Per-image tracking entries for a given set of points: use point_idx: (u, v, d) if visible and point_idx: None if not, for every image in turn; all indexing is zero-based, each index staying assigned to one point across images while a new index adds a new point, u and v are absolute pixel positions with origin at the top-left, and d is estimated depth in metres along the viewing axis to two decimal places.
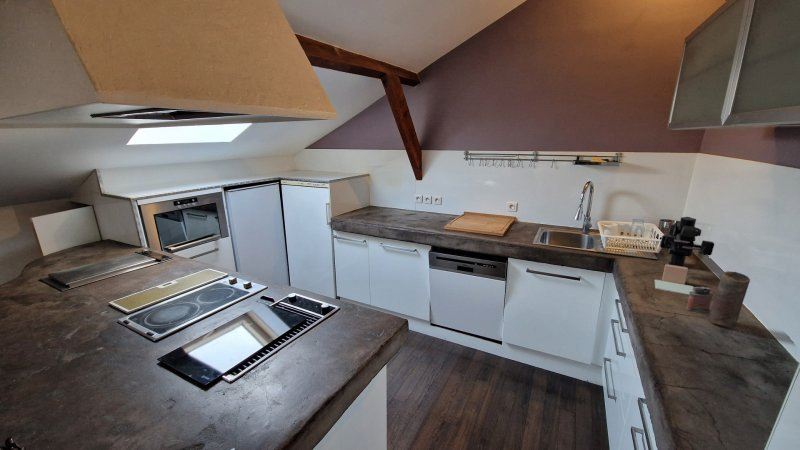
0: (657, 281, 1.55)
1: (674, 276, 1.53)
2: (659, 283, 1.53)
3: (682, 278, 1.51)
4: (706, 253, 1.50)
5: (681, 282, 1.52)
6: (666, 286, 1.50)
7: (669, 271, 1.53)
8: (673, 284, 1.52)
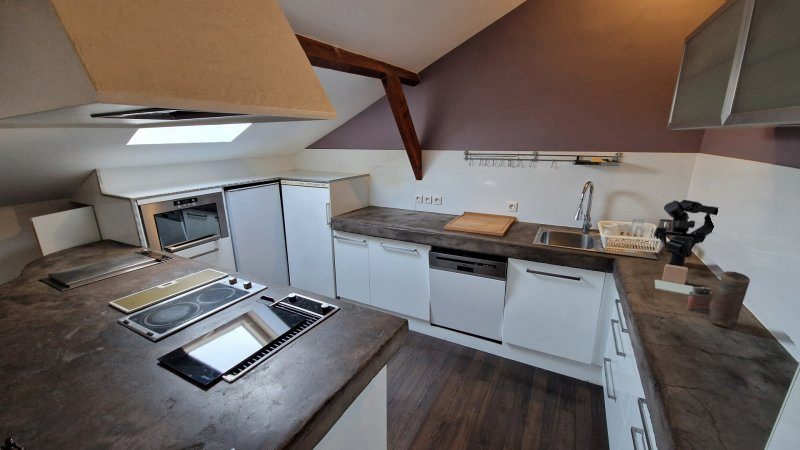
0: (657, 281, 1.55)
1: (674, 276, 1.53)
2: (659, 283, 1.53)
3: (682, 278, 1.51)
4: (697, 242, 1.57)
5: (681, 282, 1.52)
6: (666, 286, 1.50)
7: (669, 271, 1.53)
8: (673, 284, 1.52)
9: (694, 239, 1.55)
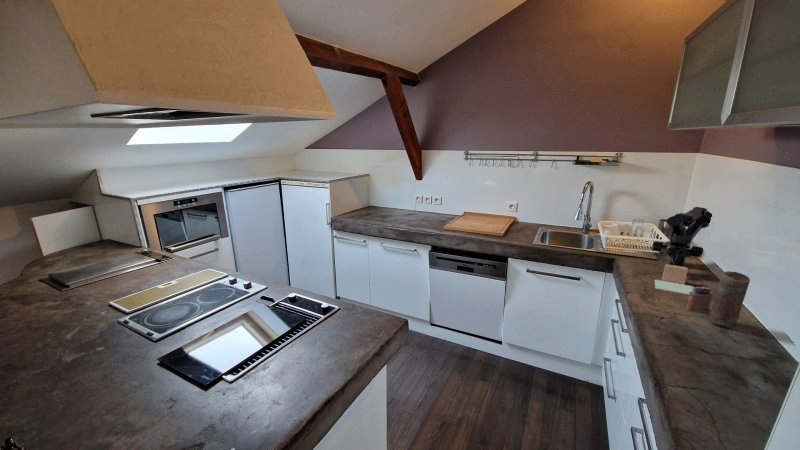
0: (657, 281, 1.55)
1: (674, 276, 1.53)
2: (659, 283, 1.53)
3: (682, 278, 1.51)
4: (683, 255, 1.59)
5: (681, 282, 1.52)
6: (666, 286, 1.50)
7: (669, 271, 1.53)
8: (673, 284, 1.52)
9: (679, 252, 1.56)
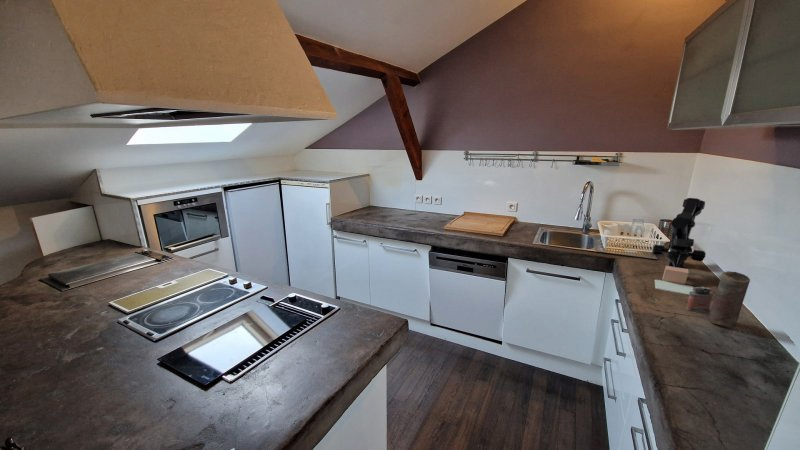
0: (657, 281, 1.55)
1: (674, 278, 1.52)
2: (659, 283, 1.53)
3: (682, 280, 1.50)
4: (684, 259, 1.54)
5: (681, 282, 1.51)
6: (666, 286, 1.50)
7: (669, 273, 1.52)
8: (673, 284, 1.52)
9: (681, 256, 1.52)
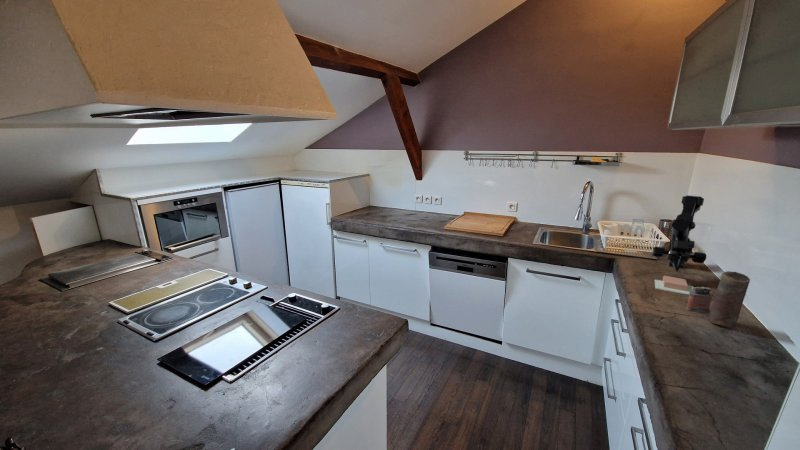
0: (657, 281, 1.55)
1: None
2: (659, 283, 1.53)
3: None
4: (685, 261, 1.52)
5: None
6: None
7: None
8: None
9: (681, 258, 1.50)
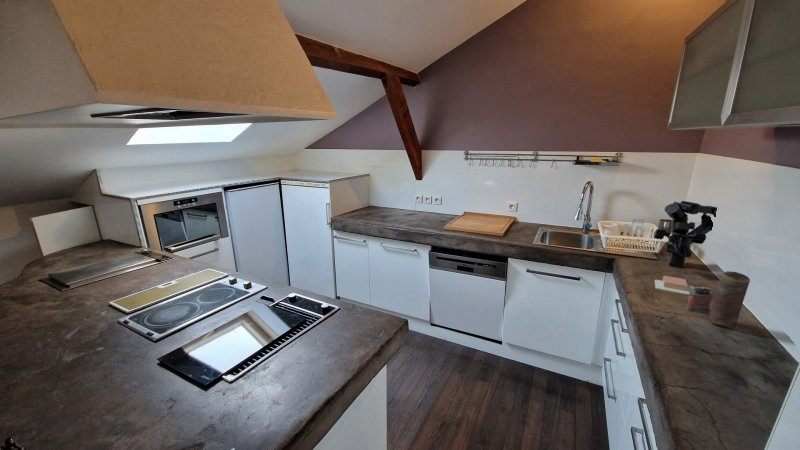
0: (657, 281, 1.55)
1: None
2: (659, 283, 1.53)
3: None
4: (685, 242, 1.59)
5: None
6: None
7: None
8: None
9: (682, 239, 1.57)
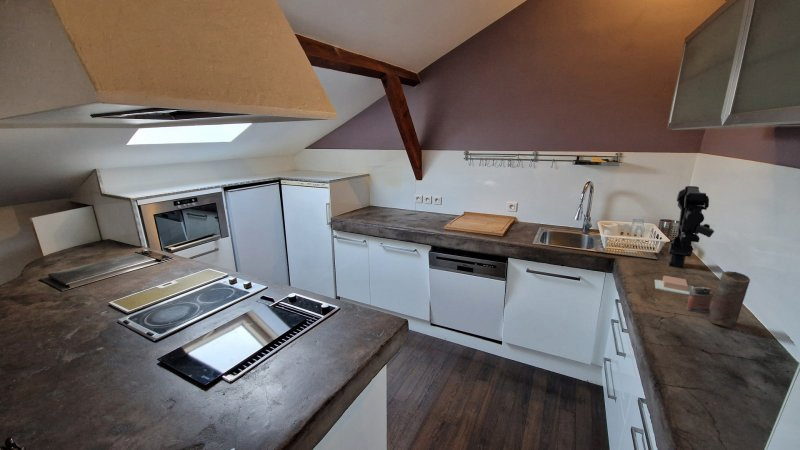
0: (657, 281, 1.55)
1: None
2: (659, 283, 1.53)
3: None
4: None
5: None
6: None
7: None
8: None
9: None
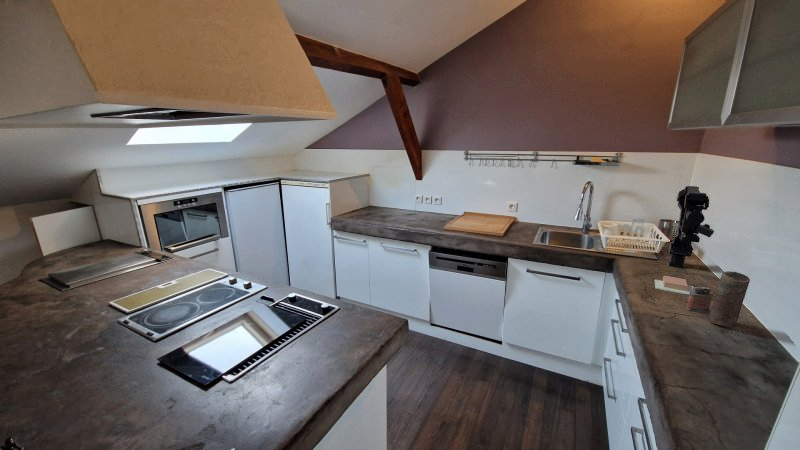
0: (657, 281, 1.55)
1: None
2: (659, 283, 1.53)
3: None
4: None
5: None
6: None
7: None
8: None
9: None
